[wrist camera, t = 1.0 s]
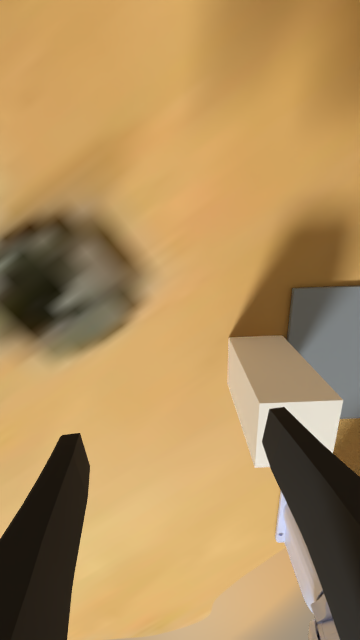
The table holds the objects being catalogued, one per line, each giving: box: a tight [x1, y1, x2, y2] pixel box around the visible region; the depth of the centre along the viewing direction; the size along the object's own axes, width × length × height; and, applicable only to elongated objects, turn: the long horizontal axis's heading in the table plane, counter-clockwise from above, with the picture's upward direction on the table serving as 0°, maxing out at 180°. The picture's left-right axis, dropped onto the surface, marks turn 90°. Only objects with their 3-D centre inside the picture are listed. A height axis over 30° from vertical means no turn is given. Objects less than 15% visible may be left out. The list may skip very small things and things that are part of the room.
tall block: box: [227, 335, 343, 468], centre depth 22 cm, size 5×5×10 cm
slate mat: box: [287, 286, 360, 419], centre depth 27 cm, size 14×12×1 cm
